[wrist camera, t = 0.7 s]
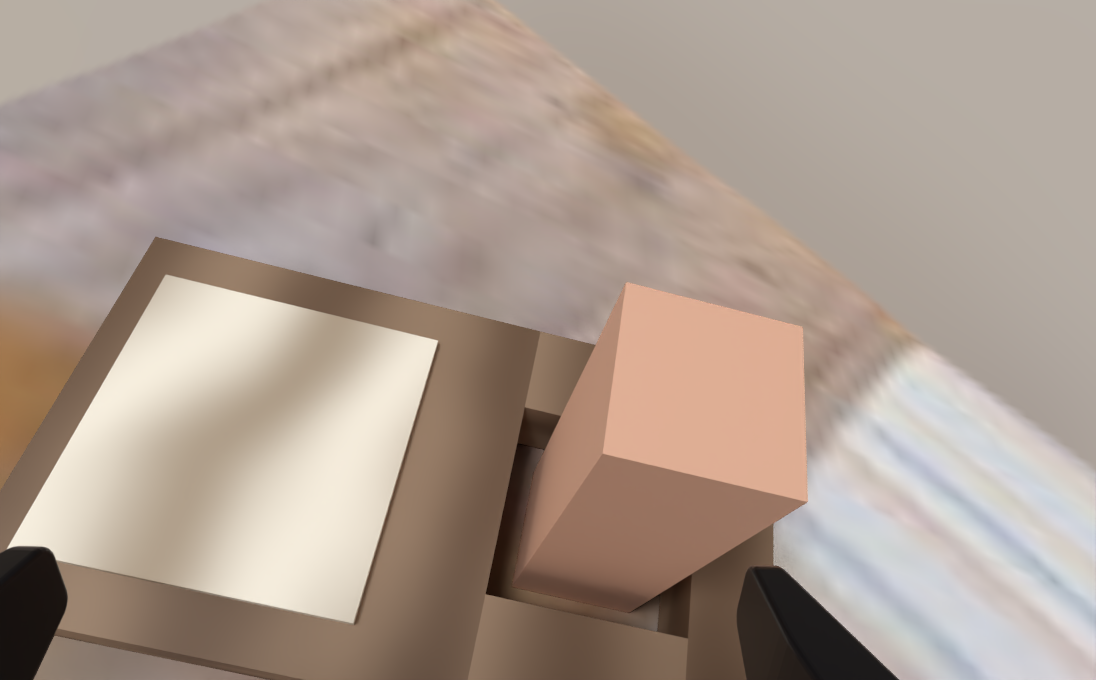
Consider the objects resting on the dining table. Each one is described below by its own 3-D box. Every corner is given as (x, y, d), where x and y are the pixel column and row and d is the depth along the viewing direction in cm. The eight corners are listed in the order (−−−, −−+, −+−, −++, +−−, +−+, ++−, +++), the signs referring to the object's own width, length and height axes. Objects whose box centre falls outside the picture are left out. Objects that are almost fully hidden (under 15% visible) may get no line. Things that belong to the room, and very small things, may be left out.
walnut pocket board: (738, 422, 28) (776, 385, 25) (729, 774, 22) (778, 777, 19) (178, 286, 26) (153, 231, 24) (-10, 622, 20) (-75, 600, 17)
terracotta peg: (628, 613, 23) (807, 501, 13) (511, 587, 23) (602, 453, 13) (640, 498, 26) (802, 326, 15) (533, 473, 25) (626, 282, 15)
